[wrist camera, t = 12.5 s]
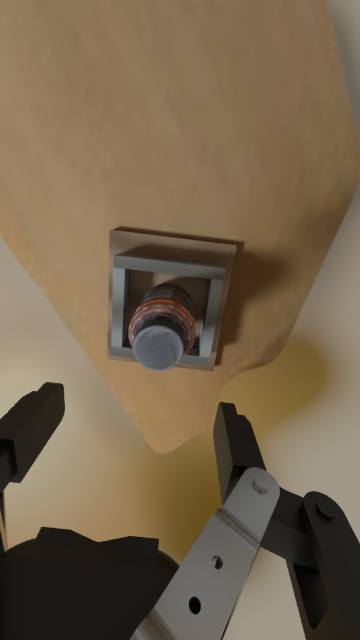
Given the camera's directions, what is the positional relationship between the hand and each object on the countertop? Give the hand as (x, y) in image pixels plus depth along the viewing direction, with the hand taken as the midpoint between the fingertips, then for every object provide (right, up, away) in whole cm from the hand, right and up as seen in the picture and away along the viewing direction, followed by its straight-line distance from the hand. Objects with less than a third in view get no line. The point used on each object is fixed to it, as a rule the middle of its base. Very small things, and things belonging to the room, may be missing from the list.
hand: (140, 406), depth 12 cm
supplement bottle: (+1, +6, +17) cm, 18 cm away
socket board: (0, +6, +18) cm, 19 cm away
